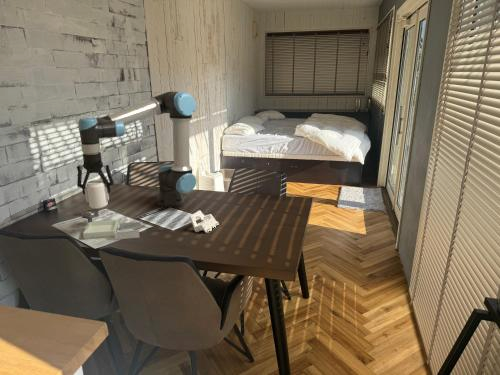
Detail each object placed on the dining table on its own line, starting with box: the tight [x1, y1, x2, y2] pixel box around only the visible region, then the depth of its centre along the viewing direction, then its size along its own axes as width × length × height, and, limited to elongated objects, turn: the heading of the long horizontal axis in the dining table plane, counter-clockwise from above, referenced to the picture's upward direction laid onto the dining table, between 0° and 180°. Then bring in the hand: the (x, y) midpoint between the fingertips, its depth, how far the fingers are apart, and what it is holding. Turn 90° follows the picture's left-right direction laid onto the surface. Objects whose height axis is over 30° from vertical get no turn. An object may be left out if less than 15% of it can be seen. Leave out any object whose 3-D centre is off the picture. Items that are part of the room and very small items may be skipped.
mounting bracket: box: [189, 210, 220, 234], centre depth 172 cm, size 12×6×11 cm, turn 154°
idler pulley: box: [80, 209, 97, 224], centre depth 174 cm, size 7×7×7 cm
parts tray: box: [82, 219, 119, 240], centre depth 167 cm, size 14×14×3 cm
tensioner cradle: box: [115, 221, 142, 240], centre depth 166 cm, size 10×12×3 cm
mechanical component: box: [86, 201, 100, 218], centre depth 185 cm, size 3×10×10 cm, turn 79°
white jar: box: [85, 179, 109, 209], centre depth 162 cm, size 8×8×12 cm
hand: (97, 200), depth 163 cm, fingers closed on white jar, 8 cm apart
